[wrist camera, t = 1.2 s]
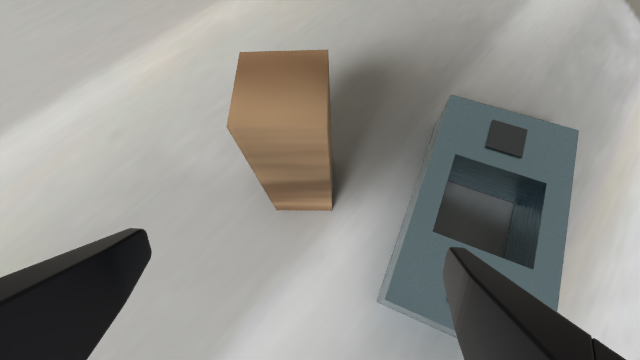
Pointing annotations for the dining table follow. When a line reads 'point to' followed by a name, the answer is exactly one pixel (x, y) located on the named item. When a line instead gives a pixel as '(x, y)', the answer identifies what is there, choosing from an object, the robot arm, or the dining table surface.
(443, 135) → the socket block
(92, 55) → the dining table surface
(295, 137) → the wooden square peg
